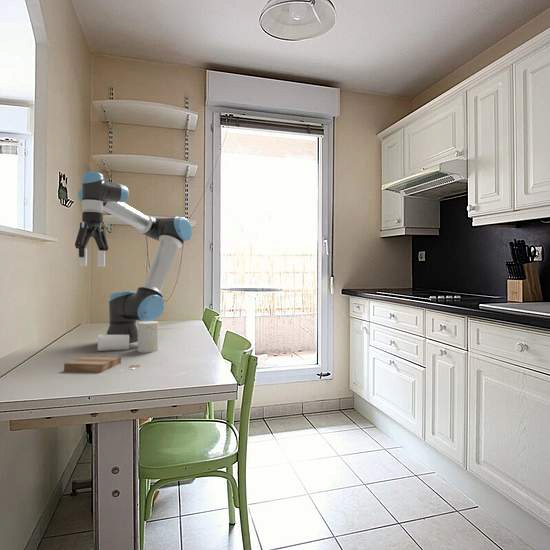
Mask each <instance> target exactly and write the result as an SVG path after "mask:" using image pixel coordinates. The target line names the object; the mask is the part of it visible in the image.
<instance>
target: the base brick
mask: <svg viewBox="0 0 550 550" xmlns="http://www.w3.org/2000/svg"><path fill="white" fill-rule="evenodd" d="M121 363H122V357H121V356H105V355H103V356H102V355H101V356H99V355H85V356H82V357H80V358H76V359H73V360H71V361H68V362H66V363H63V366H64V367H63V372H64V373H65V372H68V373H69V372H71V373H73V372H75V373H104V372H105V371H107V370H110V369H112V368H113V367H116V366H118V365H120V364H121Z"/></svg>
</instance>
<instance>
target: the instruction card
mask: <svg viewBox="0 0 550 550" xmlns="http://www.w3.org/2000/svg"><path fill="white" fill-rule="evenodd" d="M139 367H141V364H131V365H130V366H128V370H136V369H137V368H139ZM119 372H126V370H125V369H124V368H121V369H119Z"/></svg>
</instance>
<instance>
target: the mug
mask: <svg viewBox="0 0 550 550" xmlns="http://www.w3.org/2000/svg"><path fill="white" fill-rule="evenodd" d="M129 349H130V343H129V335H106V334H98V336H97V352H109V351H122V350H123V351H124V350H126V351H127V350H129Z"/></svg>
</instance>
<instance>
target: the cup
mask: <svg viewBox="0 0 550 550" xmlns="http://www.w3.org/2000/svg"><path fill="white" fill-rule="evenodd" d="M159 326H160V325H159V321H156V320H153V321H138V322H137V329H138V341H137V352H138V353H154V352H158V351H159V333H160V332H159V329H160V328H159Z"/></svg>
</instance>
